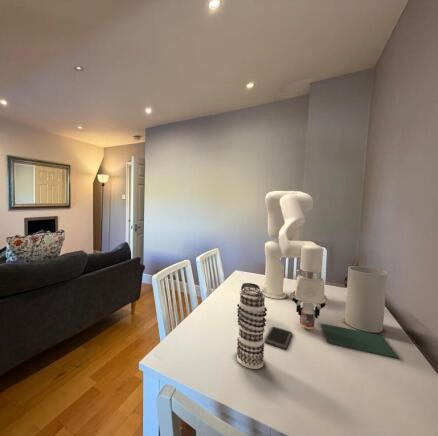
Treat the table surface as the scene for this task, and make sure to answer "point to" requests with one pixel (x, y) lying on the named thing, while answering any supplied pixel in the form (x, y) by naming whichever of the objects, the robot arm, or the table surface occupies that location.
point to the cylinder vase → (365, 298)
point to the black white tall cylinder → (251, 327)
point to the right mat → (358, 340)
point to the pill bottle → (307, 315)
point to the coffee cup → (249, 285)
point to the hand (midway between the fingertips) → (307, 315)
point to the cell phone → (278, 337)
